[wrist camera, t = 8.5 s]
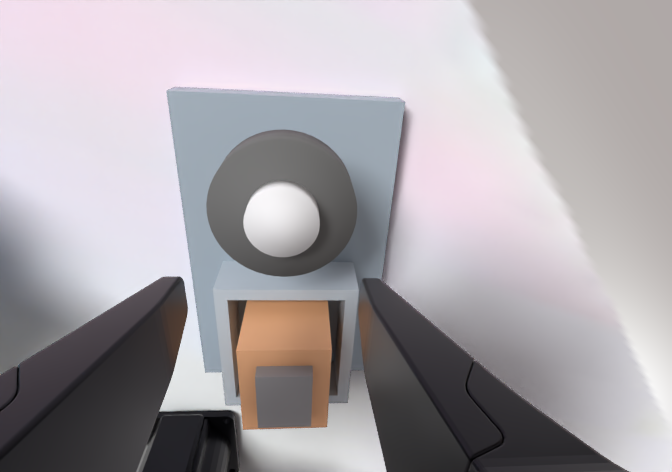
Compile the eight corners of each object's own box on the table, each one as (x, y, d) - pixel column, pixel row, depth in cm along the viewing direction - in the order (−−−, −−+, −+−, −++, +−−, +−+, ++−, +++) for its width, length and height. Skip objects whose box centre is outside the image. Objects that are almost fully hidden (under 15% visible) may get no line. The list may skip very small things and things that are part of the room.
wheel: (347, 257, 16) (354, 289, 14) (220, 256, 15) (208, 289, 13) (358, 132, 13) (367, 149, 11) (208, 126, 13) (191, 142, 11)
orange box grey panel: (322, 352, 23) (327, 438, 18) (254, 352, 23) (241, 441, 18) (326, 282, 21) (332, 360, 16) (250, 282, 21) (233, 361, 16)
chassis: (367, 355, 25) (376, 403, 22) (209, 357, 24) (195, 407, 21) (399, 97, 18) (420, 112, 15) (175, 86, 17) (144, 100, 14)
